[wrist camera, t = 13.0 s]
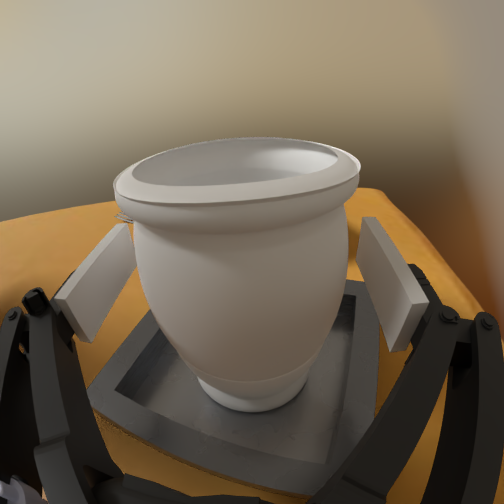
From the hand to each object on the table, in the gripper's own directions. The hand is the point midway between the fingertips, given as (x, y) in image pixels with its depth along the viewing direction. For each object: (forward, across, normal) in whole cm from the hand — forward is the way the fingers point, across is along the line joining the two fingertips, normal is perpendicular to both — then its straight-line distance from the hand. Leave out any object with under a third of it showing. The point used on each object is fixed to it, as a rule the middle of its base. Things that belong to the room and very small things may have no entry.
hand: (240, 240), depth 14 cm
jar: (-1, 0, -10) cm, 10 cm away
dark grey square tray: (-1, 0, -11) cm, 11 cm away
